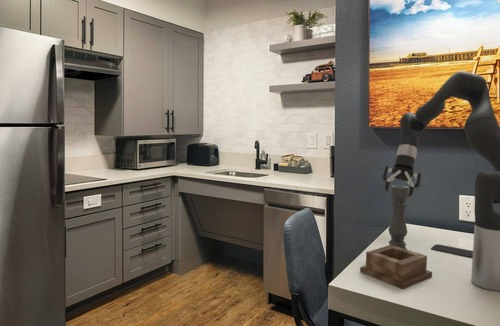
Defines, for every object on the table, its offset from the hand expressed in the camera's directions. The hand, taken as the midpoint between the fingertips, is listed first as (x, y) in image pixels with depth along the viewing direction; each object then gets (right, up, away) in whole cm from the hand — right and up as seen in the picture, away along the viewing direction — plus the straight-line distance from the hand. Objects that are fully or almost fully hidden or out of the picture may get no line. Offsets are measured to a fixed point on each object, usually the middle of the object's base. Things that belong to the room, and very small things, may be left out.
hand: (397, 193), depth 151 cm
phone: (+15, -20, -15) cm, 29 cm away
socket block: (-15, -22, -35) cm, 44 cm away
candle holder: (-8, -21, -20) cm, 30 cm away
